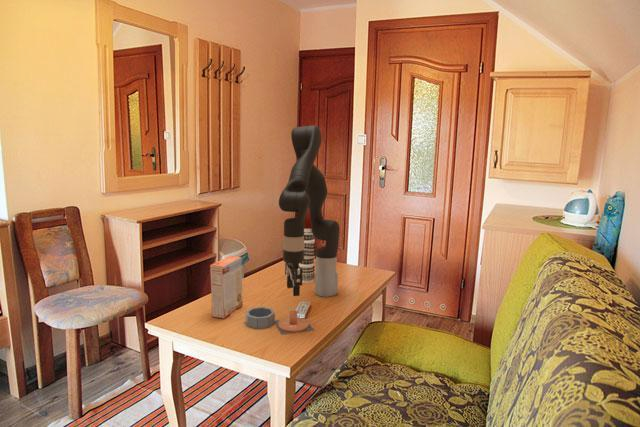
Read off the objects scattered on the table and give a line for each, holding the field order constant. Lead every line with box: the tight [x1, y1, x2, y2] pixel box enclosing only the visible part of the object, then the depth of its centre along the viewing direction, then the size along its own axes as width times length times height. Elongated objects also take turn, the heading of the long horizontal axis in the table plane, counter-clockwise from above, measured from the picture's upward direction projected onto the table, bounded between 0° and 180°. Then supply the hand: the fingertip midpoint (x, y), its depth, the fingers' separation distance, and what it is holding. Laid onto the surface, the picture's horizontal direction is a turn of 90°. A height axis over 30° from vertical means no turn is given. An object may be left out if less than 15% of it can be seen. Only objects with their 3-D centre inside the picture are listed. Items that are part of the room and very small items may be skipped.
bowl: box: [245, 306, 276, 330], centre depth 160 cm, size 10×10×4 cm
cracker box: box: [209, 255, 244, 320], centre depth 169 cm, size 14×6×21 cm, turn 160°
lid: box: [278, 310, 310, 333], centre depth 157 cm, size 11×11×5 cm
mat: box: [274, 317, 315, 336], centre depth 158 cm, size 12×12×1 cm
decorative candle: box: [297, 227, 317, 284], centre depth 208 cm, size 9×9×25 cm
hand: (293, 291), depth 156 cm, fingers open, 8 cm apart
